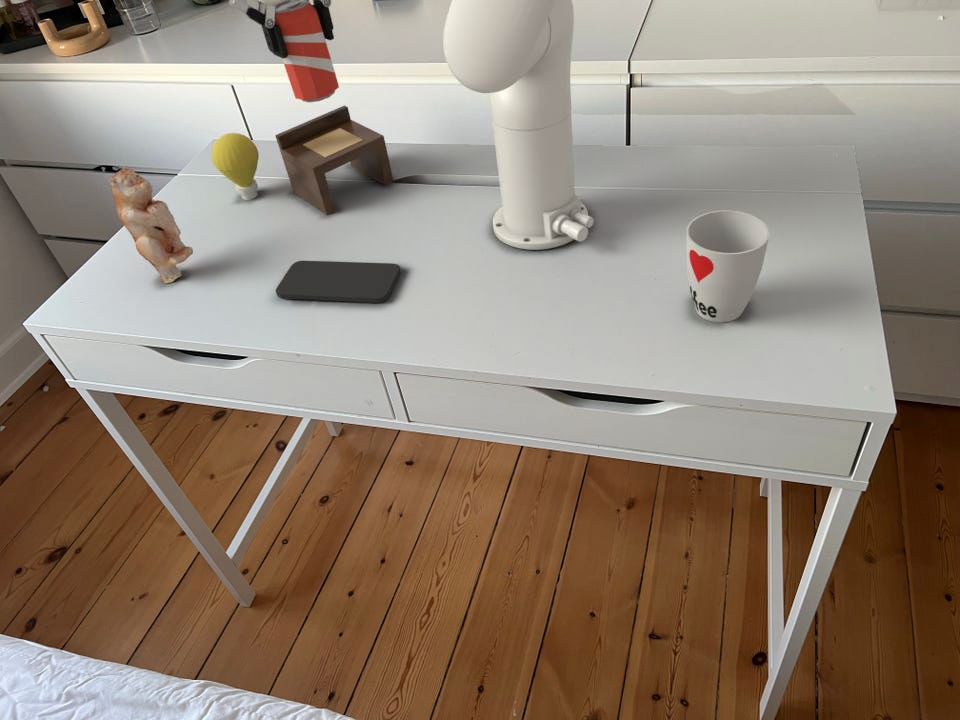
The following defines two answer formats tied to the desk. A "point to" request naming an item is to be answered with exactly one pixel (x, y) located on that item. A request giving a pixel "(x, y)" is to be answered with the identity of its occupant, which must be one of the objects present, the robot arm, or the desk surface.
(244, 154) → the light bulb
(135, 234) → the figurine
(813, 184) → the desk surface
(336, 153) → the miniature wooden desk
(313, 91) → the beverage can
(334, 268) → the phone
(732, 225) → the cup
